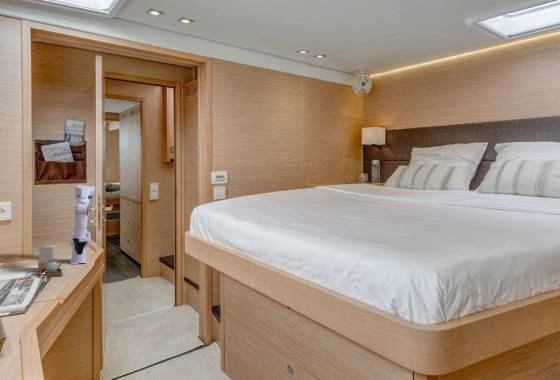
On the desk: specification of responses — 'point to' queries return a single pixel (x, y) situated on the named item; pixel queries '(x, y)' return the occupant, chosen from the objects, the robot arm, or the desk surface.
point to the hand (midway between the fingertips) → (78, 252)
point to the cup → (51, 266)
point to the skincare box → (45, 255)
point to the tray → (58, 274)
